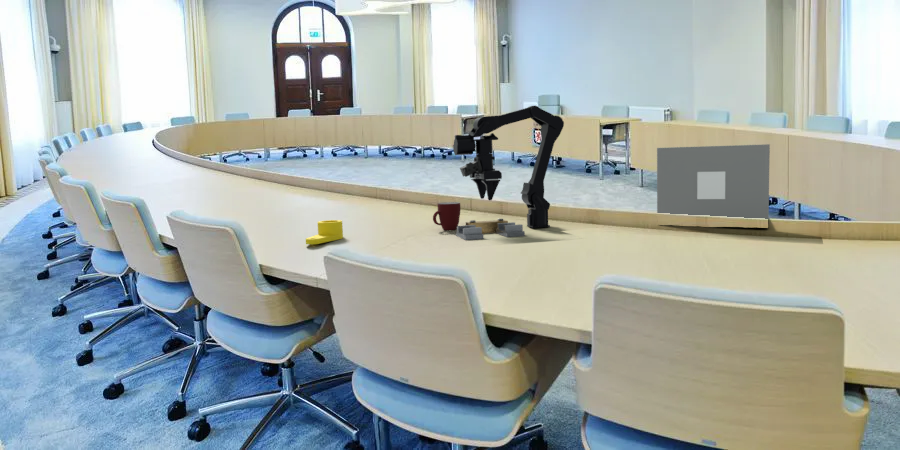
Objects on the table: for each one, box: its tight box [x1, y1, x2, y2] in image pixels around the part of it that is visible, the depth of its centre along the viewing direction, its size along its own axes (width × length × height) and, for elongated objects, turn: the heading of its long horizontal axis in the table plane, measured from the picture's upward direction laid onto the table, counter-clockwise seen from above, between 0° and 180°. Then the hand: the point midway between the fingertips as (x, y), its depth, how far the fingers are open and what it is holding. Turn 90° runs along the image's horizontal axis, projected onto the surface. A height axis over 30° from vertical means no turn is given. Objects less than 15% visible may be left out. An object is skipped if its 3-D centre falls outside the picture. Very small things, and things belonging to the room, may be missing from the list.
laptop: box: [656, 143, 771, 220], centre depth 241 cm, size 35×26×27 cm
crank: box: [305, 219, 344, 245], centre depth 234 cm, size 18×8×6 cm, turn 160°
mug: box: [432, 201, 461, 231], centre depth 244 cm, size 11×8×10 cm
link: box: [465, 218, 509, 234], centre depth 239 cm, size 14×4×5 cm, turn 103°
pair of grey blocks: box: [455, 221, 526, 241], centre depth 229 cm, size 20×12×4 cm, turn 104°
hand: (486, 199), depth 238 cm, fingers open, 9 cm apart
